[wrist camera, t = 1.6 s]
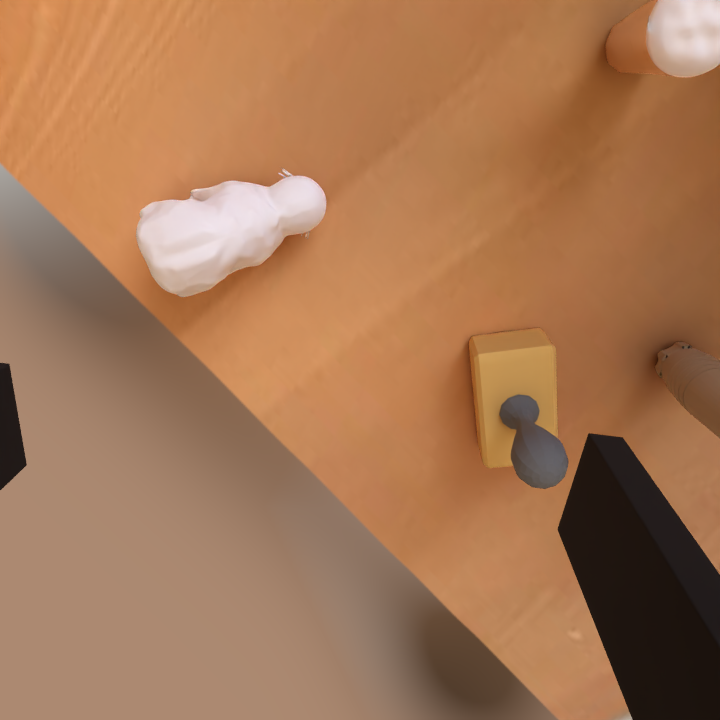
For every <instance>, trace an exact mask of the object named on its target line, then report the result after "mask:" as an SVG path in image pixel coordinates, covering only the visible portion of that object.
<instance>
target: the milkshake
mask: <svg viewBox="0 0 720 720" xmlns="http://www.w3.org/2000/svg"><path fill="white" fill-rule="evenodd" d="M605 49H606V56H607V62H608V63H609V64H610V65H611V66H612V67H613V68H615V69H616V70H617V71H618V72H619V73H647V74H656V75H664V76H673V77H694V76H698V75H701V74H704V73H706V72H708V71H710V70H712V69H714V68H715V67H717V66H718V65H719V64H720V0H651V1H649V2H648V3H646V4H645V5H643V6H641V7H640V8H638V9H637V10H635V11H634V12H632V13H631V14H629V15H628V16H626V17H625V18H624V19H622V20H621V21H620V22H618V23H617V24H616V25H614V26H613V27H612V30H611V32H610V34H609V37H608V39H607V41H606V43H605Z"/></svg>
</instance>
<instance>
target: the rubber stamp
mask: <svg viewBox="0 0 720 720" xmlns="http://www.w3.org/2000/svg"><path fill="white" fill-rule="evenodd" d="M469 352H470V363H471V374H472V385H473V396H474V407H475V417H476V428H477V439H478V446H479V450H480V454H481V457H482V461H483V464H484V465H485V466H486V467H487V468H495V467H505V466H514V469H515V471H516V474H517V475H518V477H519V478H520V479H521V480H523V481H524V482H525V483H527V484H528V485H530V486H531V487H535V488H543V489H546V488H550V487H553V486H556V485H557V484H558V483H559V482H560V481H561V480H562V479H563V478H564V477H565V474H566V471H567V468H568V458H567V455H566V452H565V449H564V447H563V445H562V443H561V441H560V440H559V439H558V423H557V381H556V349H555V346H554V345H553V343H552V342H551V341H550V339H549V338H548V336H547V335H546V333H545V332H544V331H543V330H542V329H540V328H532V329H524V330H516V331H508V332H501V333H493V334H485V335H477V336H472V337H471V339H470V341H469Z"/></svg>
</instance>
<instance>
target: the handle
mask: <svg viewBox="0 0 720 720" xmlns="http://www.w3.org/2000/svg"><path fill="white" fill-rule="evenodd" d="M657 356H658V363H657V364H656V365H655V370H656V372H657V374H658V375H659V377H660V378H663V380H664V382H665V384H666V386H667V387H668V389H669V390H670V391H671V393H672V394H673V395H674V397H675V398H676V399H677V400H678V401H679V402H680V404H681V405H682V406H683V407H684V408H685V409H686V410H687V411H688V412H689V413H690V414H691V415H693V416H694V417H695V418H696V419H697V420H699V421H700V422H701V423H702V424H703V425H705V426H706V427H707V428H708V429H709V430H711V431H712V432H713V433H714V434H715V435H717V436H718V437H719V438H720V361H719V360H718V359H716V358H714V357H713V356H711V355H709V354H707V353H705V352H703V351H700V350H697V349H693V348H692V346H691V345H689V344H687V343H684V342H676V343H674V345H673V346H671V347H669V348H667V349H665V350H661V351H660V352H659V353H658V354H657Z"/></svg>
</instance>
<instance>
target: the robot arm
mask: <svg viewBox="0 0 720 720" xmlns="http://www.w3.org/2000/svg"><path fill="white" fill-rule="evenodd" d="M25 466H26V458H25V453H24V447H23V442H22V436H21V429H20V424H19V418H18V412H17V406H16V401H15V395H14V389H13V383H12V378H11V371H10V366H9V364H5V363H0V490H1V489H2V488H3V487H4V486H5V485H6V484H7V483H8V482H10V481H11V480H12V479H13V478H14V477H15V476H16V475H17V474H18V473H19V472H20V471H21V470H22V469H23V468H24V467H25ZM558 532H559V534H560V537H561V539H562V542H563V544H564V547H565V550H566V552H567V555H568V557H569V560H570V562H571V565H572V567H573V570H574V572H575V575H576V577H577V580H578V582H579V585H580V588H581V590H582V593H583V595H584V598H585V600H586V603H587V605H588V608H589V610H590V613H591V615H592V618H593V620H594V623H595V625H596V628H597V631H598V633H599V636H600V638H601V641H602V643H603V646H604V648H605V651H606V653H607V656H608V658H609V661H610V663H611V666H612V669H613V671H614V674H615V676H616V679H617V681H618V684H619V686H620V689H621V691H622V694H623V696H624V699H625V701H626V704H627V707H628V709H629V712H630V714H631V717H632V719H633V720H720V574H719V573H718V572H717V570H716V569H715V567H714V566H713V565H712V563H711V562H710V560H709V559H708V557H707V556H706V555H705V553H704V552H703V550H702V549H701V548H700V546H699V545H698V543H697V542H696V540H695V539H694V538H693V536H692V535H691V533H690V532H689V531H688V529H687V528H686V526H685V525H684V524H683V522H682V521H681V519H680V518H679V516H678V515H677V514H676V512H675V511H674V509H673V508H672V507H671V505H670V504H669V502H668V501H667V499H666V498H665V497H664V495H663V494H662V492H661V491H660V490H659V488H658V487H657V485H656V484H655V483H654V481H653V480H652V478H651V477H650V475H649V474H648V473H647V471H646V470H645V468H644V467H643V466H642V464H641V463H640V461H639V460H638V458H637V457H636V456H635V454H634V453H633V451H632V450H631V449H630V447H629V446H628V444H627V443H626V442H625V440H624V439H623V437H614V436H606V435H598V434H588V437H587V440H586V443H585V446H584V449H583V452H582V455H581V458H580V462H579V465H578V468H577V471H576V474H575V477H574V480H573V483H572V486H571V489H570V492H569V496H568V499H567V502H566V505H565V508H564V511H563V514H562V517H561V520H560V523H559V526H558Z"/></svg>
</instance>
